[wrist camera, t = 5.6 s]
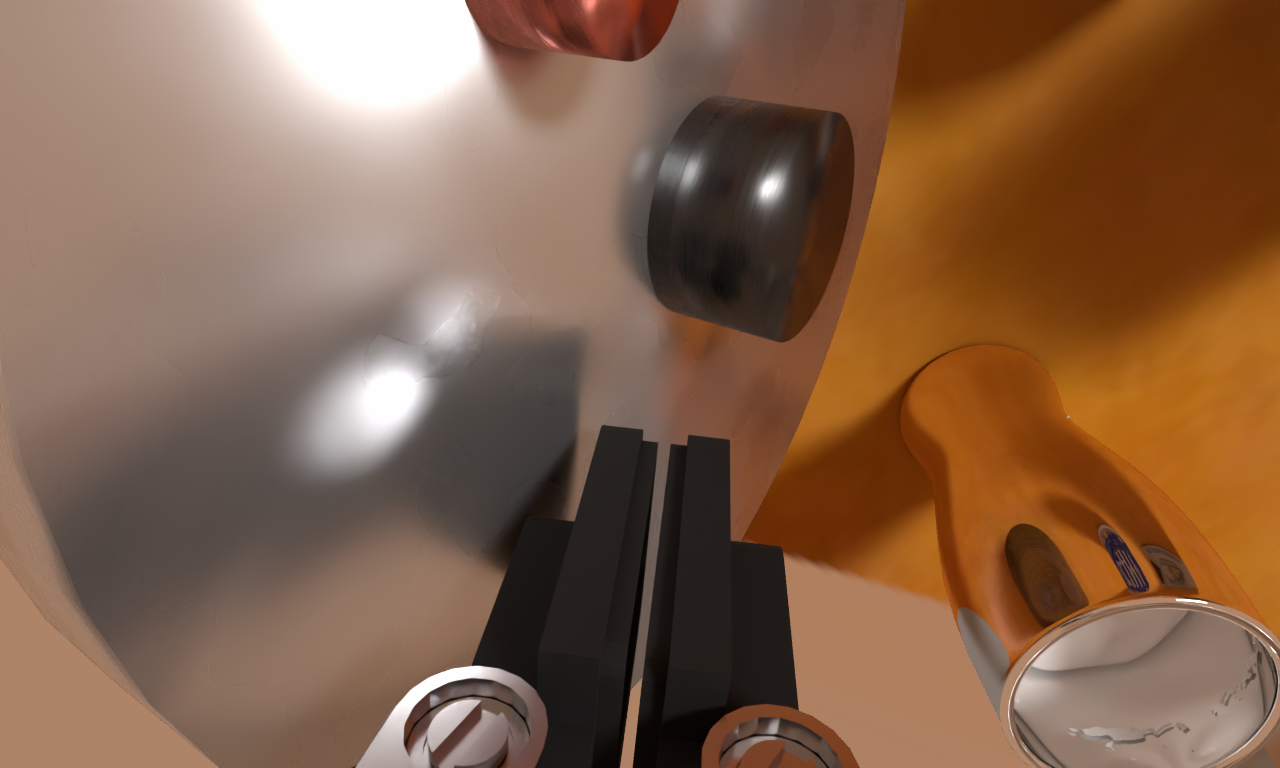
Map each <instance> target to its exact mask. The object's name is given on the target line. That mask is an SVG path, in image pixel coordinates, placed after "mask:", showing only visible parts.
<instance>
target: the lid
mask: <svg viewBox="0 0 1280 768" xmlns="http://www.w3.org/2000/svg"><path fill="white" fill-rule="evenodd" d="M905 6H906V0H0V558H1V560H2V561H3V562H4V564H5V565H6V567H7V568H8V569H9V571H10V572H11V573H12V575H13V576H14V577H15V579H16V580H17V581H18V583H19V584H20V585H21V587H22V588H23V590H24V591H25V592H26V593H27V595H28V596H29V598H30V599H31V600H32V602H33V603H34V604H35V606H36V607H37V608H38V610H39V611H40V612H41V614H42V615H43V617H44V618H45V619H46V620H47V621H48V622H49V623H50V624H51V625H52V626H53V627H54V628H55V629H57V630H58V631H59V632H60V633H61V634H62V635H63V636H64V637H65V638H67V639H68V640H69V641H70V642H71V643H72V644H73V645H74V646H76V647H77V648H78V649H79V650H80V651H81V652H82V653H83V654H84V655H85V656H87V657H88V658H89V659H90V660H91V661H92V662H94V664H96V665H97V666H98V667H99V668H100V669H101V670H102V671H103V672H104V673H106V674H107V675H108V676H109V677H110V678H111V679H112V680H113V681H115V682H116V683H117V684H118V685H119V686H120V687H121V688H123V689H124V690H125V691H126V692H127V693H129V694H130V695H131V696H132V697H134V698H135V699H136V700H137V701H138V702H140V703H141V704H142V705H143V706H145V707H146V708H147V709H148V710H149V711H151V712H152V713H153V714H154V715H156V716H157V717H158V718H159V719H160V720H162V721H163V722H164V723H165V724H167V725H168V726H169V727H170V728H171V729H173V730H174V731H175V732H176V733H177V734H179V735H180V736H181V737H182V738H184V739H185V740H186V741H187V742H188V743H190V744H191V745H192V746H193V747H195V748H196V749H197V750H198V751H199V752H201V753H202V754H203V755H204V756H206V757H207V758H208V759H209V760H210V761H212V762H213V763H214V764H215V765H217V766H218V767H219V768H352V767H354V766H356V765H357V764H358V763H359V762H360V760H361V759H362V757H363V756H364V754H365V752H366V751H367V749H368V748H369V746H370V745H371V743H372V742H373V740H374V739H375V737H376V736H377V734H378V733H379V731H380V730H381V728H382V727H383V725H384V724H385V722H386V720H387V719H388V717H389V716H390V714H391V713H392V711H393V710H394V708H395V707H396V706H397V705H398V703H399V702H400V701H401V700H402V699H403V698H404V697H405V696H406V694H407V693H408V692H409V691H410V690H411V689H412V688H414V687H415V686H417V685H419V684H420V683H422V682H423V681H425V680H426V679H428V678H429V677H431V676H434V675H436V674H439V673H442V672H445V671H448V670H450V669H453V668H462V667H471V665H472V662H473V659H474V657H475V654H476V651H477V649H478V646H479V643H480V641H481V638H482V635H483V633H484V630H485V627H486V625H487V622H488V619H489V617H490V614H491V611H492V608H493V606H494V603H495V600H496V598H497V595H498V592H499V590H500V587H501V584H502V582H503V579H504V576H505V574H506V571H507V568H508V566H509V563H510V560H511V557H512V555H513V552H514V549H515V547H516V544H517V541H518V539H519V536H520V533H521V531H522V528H523V525H524V523H525V521H526V519H527V518H528V517H529V516H534V517H542V518H550V519H558V520H566V521H575V517H576V514H577V510H578V507H579V503H580V500H581V496H582V493H583V489H584V485H585V482H586V478H587V475H588V471H589V468H590V464H591V461H592V457H593V453H594V450H595V446H596V443H597V439H598V436H599V432H600V429H601V426H602V425H609V426H617V427H626V428H635V429H643V441H651V442H658V451H657V461H656V471H655V481H654V490H653V500H652V510H651V519H650V529H649V539H648V548H647V558H646V568H645V578H644V587H643V597H642V606H641V615H640V623H639V631H638V638H637V646H636V653H635V660H634V668H633V675H632V682H631V689H632V688H633V687H634V686H635V685H636V684H637V683H638V682H639V680H640V679H641V678H642V677H643V670H644V661H645V653H646V644H647V636H648V627H649V619H650V611H651V603H652V594H653V586H654V578H655V570H656V561H657V553H658V545H659V536H660V528H661V520H662V512H663V503H664V495H665V487H666V479H667V470H668V462H669V454H670V446H671V444H677V445H686V446H687V440H688V435H695V436H704V437H713V438H721V439H729V440H730V505H731V541H738V542H741V540H742V538H743V536H744V534H745V533H746V531H747V529H748V527H749V525H750V524H751V522H752V520H753V518H754V516H755V515H756V513H757V511H758V509H759V507H760V506H761V504H762V502H763V500H764V498H765V496H766V494H767V492H768V490H769V488H770V486H771V484H772V482H773V480H774V478H775V476H776V474H777V472H778V470H779V468H780V466H781V464H782V461H783V459H784V457H785V455H786V453H787V450H788V448H789V446H790V444H791V441H792V439H793V437H794V435H795V432H796V430H797V428H798V426H799V423H800V421H801V419H802V416H803V414H804V411H805V409H806V406H807V404H808V402H809V399H810V397H811V394H812V392H813V389H814V387H815V384H816V382H817V379H818V377H819V374H820V371H821V368H822V366H823V363H824V360H825V357H826V354H827V352H828V349H829V346H830V343H831V341H832V338H833V335H834V332H835V329H836V326H837V323H838V320H839V317H840V314H841V311H842V307H843V304H844V301H845V298H846V295H847V292H848V289H849V286H850V282H851V279H852V275H853V271H854V268H855V264H856V261H857V257H858V254H859V250H860V247H861V243H862V240H863V236H864V232H865V228H866V224H867V220H868V216H869V212H870V208H871V204H872V199H873V195H874V191H875V187H876V182H877V178H878V173H879V168H880V163H881V159H882V154H883V149H884V145H885V140H886V134H887V129H888V123H889V117H890V112H891V106H892V100H893V95H894V89H895V83H896V76H897V69H898V62H899V55H900V47H901V40H902V33H903V25H904V15H905Z"/></svg>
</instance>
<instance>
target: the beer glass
mask: <svg viewBox="0 0 1280 768" xmlns="http://www.w3.org/2000/svg"><path fill="white" fill-rule="evenodd" d="M900 429H901V433H902V437H903V439H904V442H905V444H906V446H907V447H908V449H909V451H910V452H911V454H912V455H913V456H914V457H915V459H916V460H917V461H918V462H919V463H920V464H921V466H922V467H923V468H924V469H925V470H926V471H927V473H928V474H929V476H930V479H931V482H932V486H933V493H934V503H935V518H936V531H937V542H938V552H939V558H940V564H941V570H942V576H943V582H944V586H945V590H946V593H947V596H948V600H949V603H950V606H951V610H952V613H953V616H954V619H955V622H956V625H957V627H958V630H959V632H960V635H961V637H962V640H963V642H964V645H965V648H966V650H967V653H968V655H969V657H970V659H971V662H972V663H973V666H974V668H975V670H976V672H977V675H978V677H979V679H980V681H981V683H982V685H983V687H984V689H985V691H986V693H987V695H988V698H989V700H990V701H991V704H992V706H993V708H994V710H995V712H996V714H997V716H998V718H999V720H1000V722H1001V726H1002V730H1003V733H1004V735H1005V737H1006V740H1007V741H1008V743H1009V745H1010V746H1011V748H1012V749H1013V751H1014V752H1015V753H1016V754H1017V755H1018V757H1019V758H1020V759H1021V760H1022V761H1023V762H1024V763H1025V764H1026V765H1028V766H1029V767H1030V768H1236V767H1238V766H1239V765H1241V764H1242V763H1244V762H1245V761H1247V760H1248V759H1250V758H1251V757H1252V756H1254V755H1255V754H1256V753H1257V752H1258V751H1260V750H1261V749H1262V748H1263V747H1264V746H1265V745H1266V744H1267V743H1268V742H1269V741H1270V740H1271V739H1272V738H1273V736H1274V735H1275V734H1276V733H1277V731H1278V730H1279V729H1280V639H1279V638H1278V637H1277V636H1276V635H1275V634H1274V633H1273V632H1272V631H1271V630H1270V628H1269V627H1268V625H1267V624H1266V623H1265V621H1264V620H1263V618H1262V617H1261V615H1260V614H1259V612H1258V611H1257V609H1256V608H1255V606H1254V605H1253V603H1252V602H1251V600H1250V599H1249V597H1248V596H1247V594H1246V593H1245V591H1244V590H1243V588H1242V587H1241V585H1240V584H1239V582H1238V581H1237V580H1236V578H1235V577H1234V575H1233V574H1232V572H1231V571H1230V570H1229V568H1228V567H1227V565H1226V564H1225V562H1224V561H1223V560H1222V558H1221V557H1220V556H1219V554H1218V553H1217V552H1216V551H1215V549H1214V548H1213V547H1212V545H1211V544H1210V543H1209V542H1208V540H1207V539H1206V538H1205V537H1204V535H1203V534H1202V533H1201V532H1200V530H1199V529H1198V528H1197V526H1196V525H1195V524H1194V523H1193V522H1192V521H1191V520H1190V519H1189V518H1188V517H1187V516H1186V514H1185V513H1184V512H1183V511H1182V510H1181V509H1180V508H1179V507H1178V506H1177V505H1176V504H1175V503H1174V502H1173V501H1172V499H1171V498H1170V497H1169V496H1168V495H1167V494H1166V493H1165V492H1164V491H1163V490H1161V489H1160V488H1159V487H1158V486H1157V485H1156V484H1154V483H1153V482H1152V481H1151V480H1150V479H1148V478H1147V477H1146V476H1145V475H1144V474H1142V473H1141V472H1140V471H1139V470H1138V469H1136V468H1135V467H1134V466H1133V465H1131V464H1130V463H1129V462H1127V461H1126V460H1125V459H1123V458H1122V457H1121V456H1119V455H1118V454H1116V453H1115V452H1114V451H1112V450H1111V449H1110V448H1108V447H1107V446H1105V445H1104V444H1103V443H1101V442H1100V441H1098V440H1097V439H1095V438H1094V437H1093V436H1091V435H1090V434H1088V433H1087V432H1085V431H1084V430H1083V429H1082V428H1080V427H1079V426H1078V425H1076V424H1075V423H1074V422H1073V421H1072V420H1071V419H1070V418H1069V416H1067V414H1066V413H1065V411H1064V408H1063V405H1062V402H1061V399H1060V396H1059V393H1058V390H1057V388H1056V385H1055V383H1054V381H1053V379H1052V378H1051V376H1050V374H1049V373H1048V371H1047V370H1046V369H1045V368H1044V367H1043V366H1042V365H1041V364H1040V363H1039V362H1038V361H1037V360H1036V359H1034V358H1033V357H1031V356H1029V355H1028V354H1026V353H1024V352H1022V351H1019V350H1017V349H1014V348H1010V347H1006V346H1001V345H992V344H983V345H973V346H968V347H964V348H960V349H957V350H954V351H951V352H949V353H947V354H945V355H943V356H941V357H939V358H938V359H936V360H934V361H933V362H932V363H930V364H929V365H928V366H926V367H925V368H924V369H923V370H922V371H921V372H920V373H919V374H918V375H917V376H916V377H915V379H914V380H913V381H912V383H911V384H910V386H909V388H908V389H907V391H906V393H905V396H904V398H903V401H902V405H901V410H900Z"/></svg>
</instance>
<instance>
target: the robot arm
mask: <svg viewBox="0 0 1280 768" xmlns="http://www.w3.org/2000/svg"><path fill="white" fill-rule="evenodd" d="M657 451H658V442H651V441H643V429H635V428H626V427H617V426H609V425H602V426H601V429H600V432H599V436H598V439H597V443H596V446H595V450H594V453H593V457H592V461H591V464H590V468H589V471H588V475H587V478H586V482H585V485H584V489H583V493H582V496H581V500H580V503H579V507H578V510H577V514H576V517H575V521H566V520H558V519H550V518H542V517H534V516H529V517H528V518H527V519H526V521H525V523H524V525H523V528H522V531H521V533H520V536H519V539H518V541H517V544H516V547H515V549H514V552H513V555H512V557H511V560H510V563H509V566H508V568H507V571H506V574H505V576H504V579H503V582H502V584H501V587H500V590H499V592H498V595H497V598H496V600H495V603H494V606H493V608H492V611H491V614H490V617H489V619H488V622H487V625H486V627H485V630H484V633H483V635H482V638H481V641H480V643H479V646H478V649H477V651H476V654H475V657H474V659H473V662H472V665H471V667H462V668H453V669H450V670H448V671H445V672H442V673H439V674H436V675H434V676H431V677H429V678H428V679H426V680H425V681H423V682H422V683H420V684H419V685H417V686H415V687H414V688H412V689H411V690H410V691H409V692H408V693H407V694H406V696H405V697H404V698H403V699H402V700H401V701H400V702H399V703H398V705H397V706H396V707H395V708H394V710H393V711H392V713H391V714H390V716H389V717H388V719H387V720H386V722H385V724H384V725H383V727H382V728H381V730H380V731H379V733H378V734H377V736H376V737H375V739H374V740H373V742H372V743H371V745H370V746H369V748H368V749H367V751H366V752H365V754H364V756H363V757H362V759H361V760H360V762H359V763H358V764H357V765H356V766H354V767H352V768H620V763H621V755H622V748H623V741H624V734H625V726H626V719H627V711H628V704H629V697H630V690H631V682H632V675H633V668H634V660H635V653H636V646H637V638H638V631H639V623H640V615H641V606H642V597H643V587H644V578H645V568H646V558H647V548H648V539H649V529H650V519H651V510H652V500H653V490H654V481H655V471H656V461H657ZM792 648H793V647H792V638H791V627H790V617H789V607H788V596H787V586H786V576H785V566H784V557H783V551H782V549H781V547H779V546H771V545H763V544H754V543H746V542H738V541H731V505H730V440H729V439H721V438H713V437H704V436H695V435H688V440H687V446H686V445H677V444H671V446H670V454H669V462H668V470H667V479H666V487H665V495H664V503H663V512H662V520H661V528H660V536H659V545H658V553H657V561H656V570H655V578H654V586H653V594H652V603H651V611H650V619H649V627H648V636H647V644H646V653H645V661H644V670H643V679H642V688H641V697H640V706H639V715H638V724H637V734H636V742H635V751H634V761H633V768H860V767H859V765H858V763H857V761H856V759H855V758H854V755H853V753H852V752H851V750H850V748H849V747H848V746H847V745H846V744H845V743H844V741H843V740H842V739H841V738H840V737H839V736H838V735H837V734H836V733H835V732H834V730H832V729H831V728H829V727H828V726H826V725H824V724H823V723H822V722H821V721H819V720H818V719H816V718H815V717H813V716H811V715H809V714H806V713H803V712H801V711H799V709H798V699H797V688H796V679H795V668H794V658H793V649H792ZM1236 768H1280V729H1279V730H1278V731H1277V733H1276V734H1275V735H1274V736H1273V738H1272V739H1271V740H1270V741H1269V742H1268V743H1267V744H1266V745H1265V746H1264V747H1263V748H1262V749H1261V750H1260V751H1258V752H1257V753H1256V754H1255V755H1254V756H1252V757H1251V758H1250V759H1248V760H1247V761H1245V762H1244V763H1242V764H1241V765H1239V766H1238V767H1236Z"/></svg>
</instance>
